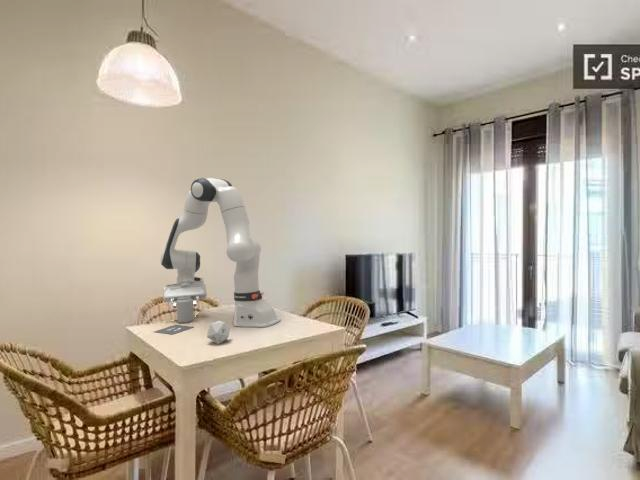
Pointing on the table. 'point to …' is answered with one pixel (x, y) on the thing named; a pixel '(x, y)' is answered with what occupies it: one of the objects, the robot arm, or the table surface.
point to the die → (218, 332)
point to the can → (185, 309)
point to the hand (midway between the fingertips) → (184, 306)
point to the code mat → (173, 329)
